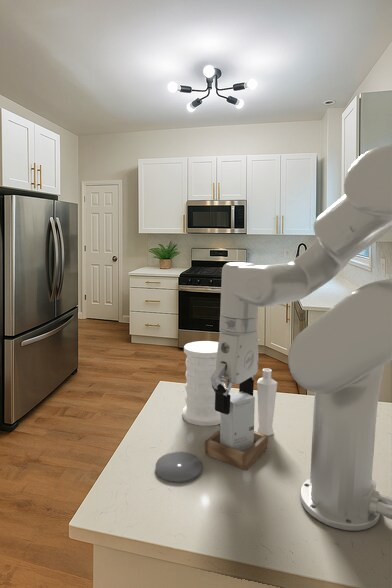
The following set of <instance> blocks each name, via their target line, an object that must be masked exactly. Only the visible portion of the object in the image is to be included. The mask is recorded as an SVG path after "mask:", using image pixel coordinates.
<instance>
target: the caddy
mask: <svg viewBox="0 0 392 588" xmlns="http://www.w3.org/2000/svg"><path fill="white" fill-rule="evenodd" d="M268 444H269V436H268V435H265V434H262V433H259V432H257V431H255V430H254V445H252V446H251V447H250V448H249V449H248V450H247V451H246V452H245V453H244V452H242V451H239V450H236V449H234V448H231V447H228V446H225V445H223V444H220V429H219V430H218V431H216V432H214V433H213V434H212V435H211V436H209V437H208V438H207V439H205V440H204V454H205V455H206V456H209V457H211V458H214V459H216V460H219V461H222V462H225V463H226V464H229V465H231V466H234V467H237V468H239V469H242V470H243V471H244V470H245V471H247V470H248V469H249V468H250V467H251V466H252V465H253V464H254V463H255V462H256V461H257V460H258V459H259V458H260V457H261V456H262V455H263V454H264V453H265V452H266V451H267V450H268V447H269V445H268Z"/></svg>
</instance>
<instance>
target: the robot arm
mask: <svg viewBox="0 0 392 588" xmlns="http://www.w3.org/2000/svg"><path fill="white" fill-rule="evenodd" d="M343 188H344V189H343V190H344V191H343V192H344V195H343V196H341V197H340V198H339V199H337V201H335V202H334V203H333V204H332V205H330V206H329V207H328V208H326V209H325V210H324V211H323V212H321V213H320V214H319V215H318V216H317V217H316V219H315V220H314V222H313V232H314V235H315V240H314V241H313V242H312V243H311V245H310V246H309V247H307V249H305V250H304V251H303V252H302V253H301V254H299V255H298V256H296V257H295V258H294V259H292V260H291V261H290V262H288V263H275V264H274V263H273V264H265V265H262V264H261V265H257V264H255V263H252V262H241V261H233V262H227V263H225V264H224V265H223V266H222V269H221V286H220V287H221V289H220V313H219V338H218V341H217V342H218V349H217V359H216V370H215V372H214V373H213V374H212V376H211V383H212V388H213V389H214V393H215V410H216V411H218V412H221V413H223V414H226V415H228V414H229V413H230V396H231V395H229V394H230V392H231V389H232V386H233V385H235V386H238V385H239V388H238V389H239V390H238V392H242V391H243V392H245V393H247V394H249V395H251V396H253V397H254V385H255V378H256V374H257V373H258V370H259V339H258V317H259V316H258V315H259V308H260V307H262V308H269V307H274V306H279V305H283V304H289V303H294V302H298V301H301V300H303V299H304V298H306V297H309V296H310V295H311V294H312V293H314V292H315V291H317V290H318V289H320V288H321V287H323V286H324V285H326V284H327V283H329V282H330V281H331V280H333V279H334V277H336V276H337V275H338V274H339V273H340V272H341V271H342V270H343V269H344V268H345V267H346V266H347V265H348V263H349V262H350V261H351V260H353V258H355V257H356V256H357V255H359V254H361V253H362V252H364V251H365V250H367V249H368V248H369V247H371V246H372V245H374V244H376V242H378V241H380V240H381V239H382V238H384V237H385V236H386V235H388V234H390V233H391V232H392V144H384V145H380V146H377V147H373V148H371V149H369V150H367V151H366V152H364V153H363V154H361V155H360V156H358V158H357V159H355V160H354V161H353V163H352V164H351V165H350V167H349V168H348V171H347V172H346V175H345V177H344V184H343ZM288 350H289V351H288V355H287V356H288V357H287V364H288V368H289V369H288V370H289V371H290V374H291V377H292V378H293V379H294V380H295V382H296V383H297V384H298V385H299V386H300V387H302V388H303V389H305V390H307V391H309V392H311V393H314V400H313V412H312V413H313V415H312V432H311V433H312V436H311V453H310V454H311V456H310V457H311V458H310V477H309V478H308V479H305V481H303V482H302V485H301V486H300V489H299V499H300V502H301V505H302V507H303V508H304V509H305V511H306V512H307V513H308V514H310V515H311V517H313V518H314V519H316V520H318V522H321V523H322V524H325V525H327V526H329V527H332V528H335V529H340V530H343V531H350V532H351V531H363V530H368V529H370V528H373V526H375V525H376V524H377V523H378V521H379V520H380V516H383V517H386V518H387V519H389V520H392V497H391V496H388V495H383V494H381V493H380V491H377V490H376V488H377V481H375V480H373V468H374V467H373V466H374V465H373V464H374V457H375V455H374V452H375V442H376V439H375V438H376V426H377V425H376V424H377V418H378V417H377V416H378V407H379V406H378V403H379V396H380V389H381V384H382V379H383V375H384V371H385V365H387V364H388V363H390V362H391V361H392V277H391V278H387V279H380V280H376V281H373V282H369V283H367V284H365V285H362V286H360V287H358V288H357V289H355V290H354V291H352V292H350V293H349V294H347V295H346V296H345V297H344V298H342V299H341V300H340V301H338V302H337V303H336V304H335V305H333V306H332V307H331V308H329V309H328V310H327V311H326V312H324V313H323V314H322V315H320V316H319V317H318V318H316V319H315V320H314V321H313V322H311V324H309V325H308V326H306V327H305V328H304V329H303V330H301V331H300V332H299V333H298V334H297V335H296V336H295V338H294V339H293V341H292V343H291V344H290V347H289V349H288ZM222 382H224V383H225V388H224V387H223V385H222Z"/></svg>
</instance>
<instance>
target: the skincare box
mask: <svg viewBox="0 0 392 588" xmlns="http://www.w3.org/2000/svg"><path fill="white" fill-rule="evenodd" d="M229 395H231V396H230V413H229V414H228V415H226V414H223V413H221V422H220V426H219V427H220V428H219V430H220V444H223V445H225V446H228V447H231V448H234V449H236V450H239V451H242V452H244V453H245V452H246V451H247V450H248V449H249V448H250V447H251V446H252V445H254V431H255V411H256V410H255V403H256V397H255V396H254V395H253V396H251V395H249V394H247V393H245V392H243V391H242V392H239V391H238V392H231V393H229Z"/></svg>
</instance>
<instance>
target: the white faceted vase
mask: <svg viewBox="0 0 392 588" xmlns="http://www.w3.org/2000/svg"><path fill="white" fill-rule="evenodd" d="M272 371H273V370H272V369H271V368H262V377H260V378H258V380H257V382H256V384H257V385H256V387H257V392H256V393H257V413H258V416H257V417H258V428H257V431H256V432H259V433H262V434H265V435H268V437H269V436H272V435H274V434H275V432H274V428H273V427H274V426H273V422H274V414H275V408H276V407H275V406H276V399H277V398H276V397H277V389H278V382H277V381H276V380H275V379H273V378H272Z"/></svg>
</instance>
